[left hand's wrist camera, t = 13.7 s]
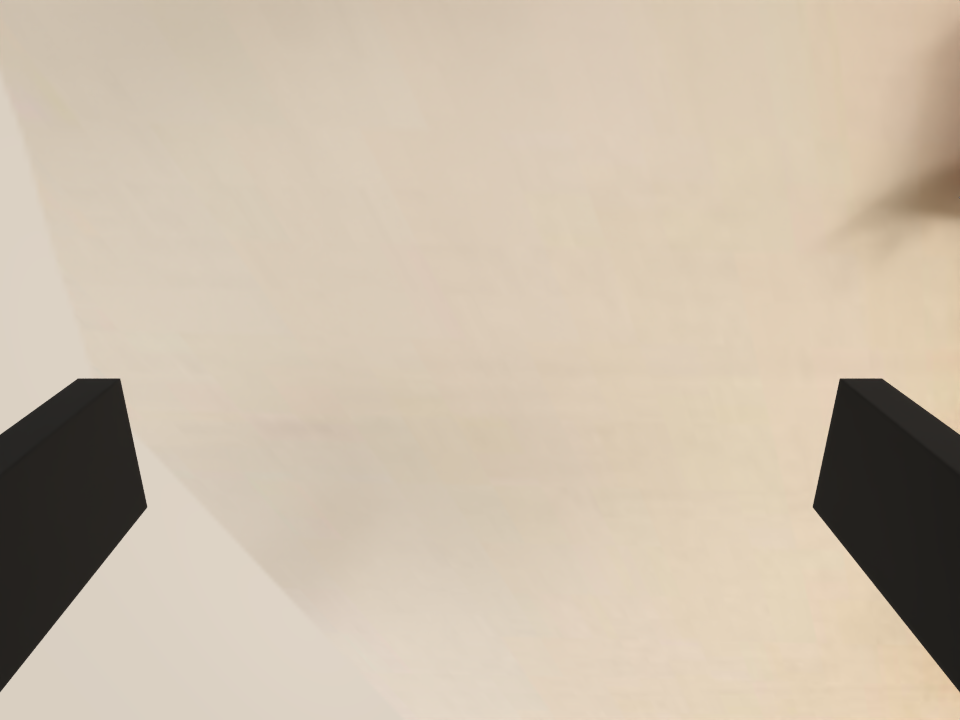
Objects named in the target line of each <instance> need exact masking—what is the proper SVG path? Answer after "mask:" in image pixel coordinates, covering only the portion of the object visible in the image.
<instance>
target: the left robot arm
mask: <svg viewBox="0 0 960 720" xmlns="http://www.w3.org/2000/svg"><path fill="white" fill-rule="evenodd" d="M146 508H147V504H146V499H145V494H144V490H143V485H142V480H141V475H140V471H139V466H138V461H137V457H136V452H135V447H134V442H133V437H132V433H131V428H130V423H129V418H128V414H127V409H126V404H125V400H124V395H123V390H122V385H121V381H120V379H77V380H76V381H74V382H73V383H71V384H70V385H69V386H67V387H66V388H64V389H63V390H62V391H60V392H59V393H57V394H56V395H55V396H53V397H52V398H51V399H49V400H48V401H46V402H45V403H44V404H42V405H41V406H39V407H38V408H37V409H35V410H34V411H33V412H31V413H30V414H28V415H27V416H26V417H24V418H23V419H21V420H20V421H19V422H17V423H16V424H15V425H13V426H12V427H10V428H9V429H8V430H6V431H5V432H3V433H2V434H1V435H0V692H1V690H2V689H3V688H4V687H5V685H6V684H7V683H8V682H9V680H10V679H11V678H12V677H13V675H14V674H15V673H16V672H17V670H18V669H19V668H20V667H21V665H22V664H23V663H24V661H25V660H26V659H27V658H28V656H29V655H30V654H31V653H32V651H33V650H34V649H35V648H36V646H37V645H38V644H39V643H40V641H41V640H42V639H43V638H44V636H45V635H46V634H47V633H48V631H49V630H50V629H51V628H52V626H53V625H54V624H55V622H56V621H57V620H58V619H59V617H60V616H61V615H62V614H63V612H64V611H65V610H66V609H67V607H68V606H69V605H70V604H71V602H72V601H73V600H74V599H75V597H76V596H77V595H78V594H79V592H80V591H81V590H82V589H83V587H84V586H85V585H86V584H87V582H88V581H89V580H90V579H91V577H92V576H93V575H94V573H95V572H96V571H97V570H98V568H99V567H100V566H101V565H102V563H103V562H104V561H105V560H106V558H107V557H108V556H109V555H110V553H111V552H112V551H113V550H114V548H115V547H116V546H117V545H118V543H119V542H120V541H121V540H122V538H123V537H124V536H125V534H126V533H127V532H128V531H129V529H130V528H131V527H132V526H133V524H134V523H135V522H136V521H137V519H138V518H139V517H140V516H141V514H142V513H143V512H144V511H145V509H146ZM813 508H814V509H815V511H816V512H817V513H818V514H819V516H820V517H821V518H822V519H823V521H824V522H825V523H826V524H827V526H828V527H829V528H830V529H831V531H832V532H833V533H834V535H835V536H836V537H837V538H838V540H839V541H840V542H841V543H842V545H843V546H844V547H845V548H846V550H847V551H848V552H849V553H850V555H851V556H852V557H853V558H854V560H855V561H856V562H857V563H858V565H859V566H860V567H861V568H862V570H863V571H864V572H865V573H866V575H867V576H868V577H869V579H870V580H871V581H872V582H873V584H874V585H875V586H876V587H877V589H878V590H879V591H880V592H881V594H882V595H883V596H884V597H885V599H886V600H887V601H888V602H889V604H890V605H891V606H892V607H893V609H894V610H895V611H896V612H897V614H898V615H899V616H900V617H901V619H902V620H903V621H904V623H905V624H906V625H907V626H908V628H909V629H910V630H911V631H912V633H913V634H914V635H915V636H916V638H917V639H918V640H919V641H920V643H921V644H922V645H923V646H924V648H925V649H926V650H927V651H928V653H929V654H930V655H931V656H932V658H933V659H934V660H935V661H936V663H937V664H938V665H939V667H940V668H941V669H942V670H943V672H944V673H945V674H946V675H947V677H948V678H949V679H950V680H951V682H952V683H953V684H954V685H955V687H956V688H957V689H958V690H959V692H960V435H959V434H958V433H957V432H955V431H954V430H952V429H951V428H950V427H948V426H947V425H946V424H944V423H943V422H941V421H940V420H939V419H937V418H936V417H934V416H933V415H932V414H930V413H929V412H927V411H926V410H925V409H923V408H922V407H921V406H919V405H918V404H916V403H915V402H914V401H912V400H911V399H909V398H908V397H907V396H905V395H904V394H903V393H901V392H900V391H898V390H897V389H896V388H894V387H893V386H891V385H890V384H889V383H887V382H886V381H884V380H883V379H840V381H839V385H838V390H837V395H836V400H835V404H834V409H833V414H832V418H831V423H830V428H829V433H828V437H827V442H826V447H825V452H824V456H823V461H822V466H821V471H820V475H819V480H818V485H817V489H816V494H815V499H814V504H813Z"/></svg>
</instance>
